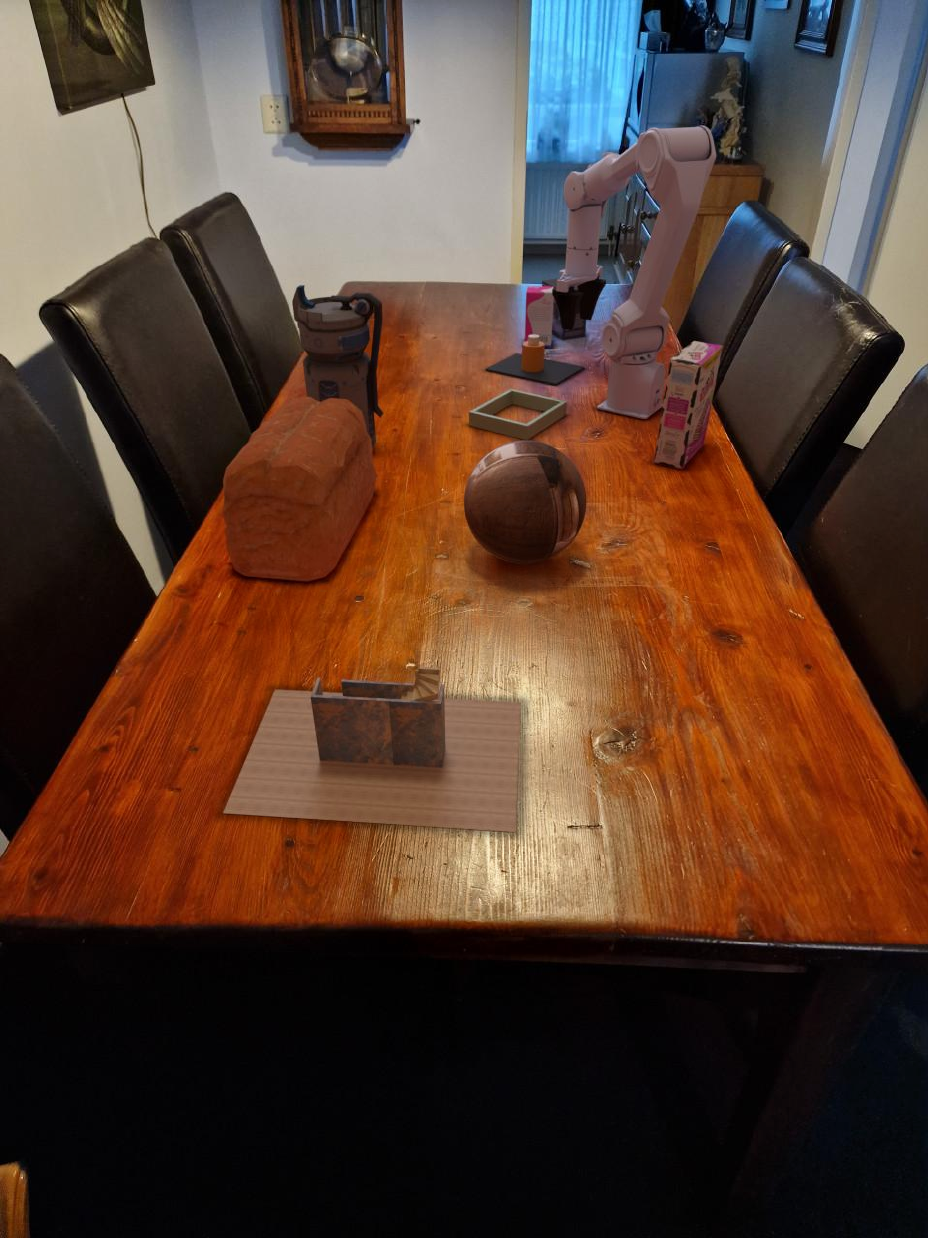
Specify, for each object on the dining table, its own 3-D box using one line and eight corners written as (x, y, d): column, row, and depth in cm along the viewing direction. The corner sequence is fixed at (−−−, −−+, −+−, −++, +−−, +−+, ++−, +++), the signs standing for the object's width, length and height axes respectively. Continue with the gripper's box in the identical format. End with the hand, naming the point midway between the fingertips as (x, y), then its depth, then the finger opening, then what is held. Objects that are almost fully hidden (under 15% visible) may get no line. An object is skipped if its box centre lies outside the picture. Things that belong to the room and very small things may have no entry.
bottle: (547, 367, 163) (549, 334, 160) (536, 373, 160) (538, 340, 157) (528, 363, 165) (529, 331, 162) (517, 369, 162) (518, 336, 159)
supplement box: (551, 340, 180) (554, 285, 173) (550, 348, 175) (554, 292, 168) (524, 339, 180) (527, 285, 174) (523, 347, 175) (526, 292, 169)
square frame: (566, 414, 144) (567, 401, 142) (527, 440, 135) (527, 426, 133) (510, 401, 149) (510, 388, 148) (468, 425, 140) (468, 411, 138)
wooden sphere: (447, 538, 108) (446, 431, 99) (550, 519, 112) (556, 414, 104) (490, 597, 97) (492, 481, 88) (602, 573, 101) (615, 461, 92)
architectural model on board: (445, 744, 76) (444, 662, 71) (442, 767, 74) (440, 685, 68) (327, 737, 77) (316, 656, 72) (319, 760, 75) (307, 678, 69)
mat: (584, 368, 164) (584, 366, 164) (555, 385, 156) (555, 383, 156) (516, 354, 172) (516, 352, 171) (485, 370, 163) (485, 368, 163)
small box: (537, 327, 188) (540, 279, 182) (562, 324, 190) (565, 276, 184) (561, 339, 180) (564, 289, 174) (586, 336, 182) (590, 286, 176)
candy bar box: (683, 471, 125) (701, 364, 115) (652, 464, 127) (667, 358, 118) (706, 445, 133) (724, 343, 123) (676, 439, 135) (692, 338, 125)
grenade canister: (382, 466, 127) (370, 298, 112) (300, 460, 129) (279, 294, 114) (397, 440, 135) (389, 280, 120) (320, 435, 137) (303, 277, 122)
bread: (222, 576, 101) (198, 463, 92) (292, 482, 122) (278, 383, 113) (331, 585, 99) (318, 471, 90) (383, 488, 120) (376, 388, 112)
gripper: (581, 237, 154) (575, 312, 162) (543, 251, 144) (539, 329, 152) (615, 241, 151) (608, 317, 159) (579, 255, 141) (573, 335, 149)
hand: (576, 324), depth 155 cm, fingers open, 7 cm apart
